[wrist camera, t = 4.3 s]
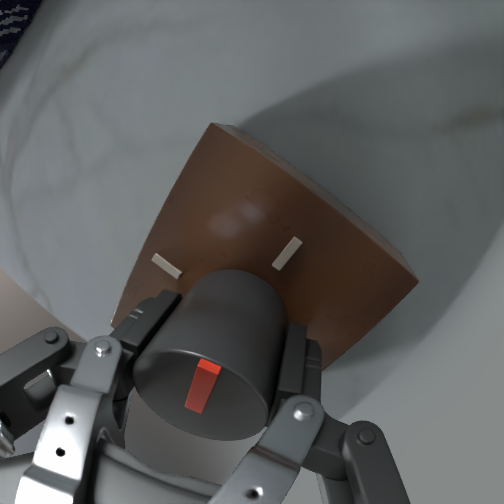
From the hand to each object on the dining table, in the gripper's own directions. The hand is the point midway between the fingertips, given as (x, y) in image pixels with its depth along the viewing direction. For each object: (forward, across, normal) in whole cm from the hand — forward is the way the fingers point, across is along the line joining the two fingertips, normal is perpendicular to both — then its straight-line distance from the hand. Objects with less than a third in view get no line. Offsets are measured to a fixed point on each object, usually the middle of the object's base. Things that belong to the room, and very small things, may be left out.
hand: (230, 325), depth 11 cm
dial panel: (+4, 0, 0) cm, 4 cm away
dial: (+1, 0, 0) cm, 1 cm away
